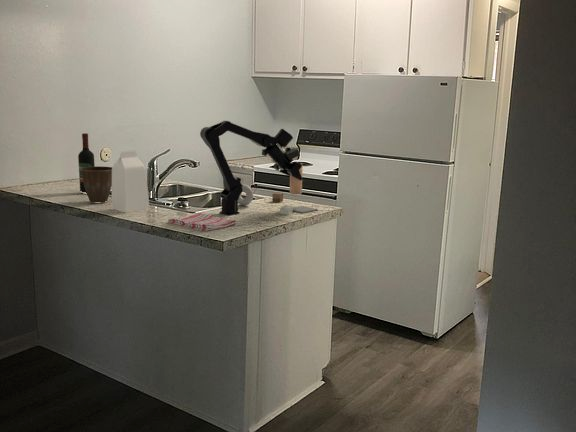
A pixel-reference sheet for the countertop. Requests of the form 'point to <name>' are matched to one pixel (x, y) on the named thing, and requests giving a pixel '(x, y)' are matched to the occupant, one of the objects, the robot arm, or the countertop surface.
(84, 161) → the wine bottle
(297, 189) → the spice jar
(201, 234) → the countertop surface
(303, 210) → the slate coaster
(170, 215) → the countertop surface
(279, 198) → the walnut cube
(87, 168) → the plant pot
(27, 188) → the countertop surface
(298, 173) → the robot arm
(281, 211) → the grey box
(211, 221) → the dish towel
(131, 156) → the milk
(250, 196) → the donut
